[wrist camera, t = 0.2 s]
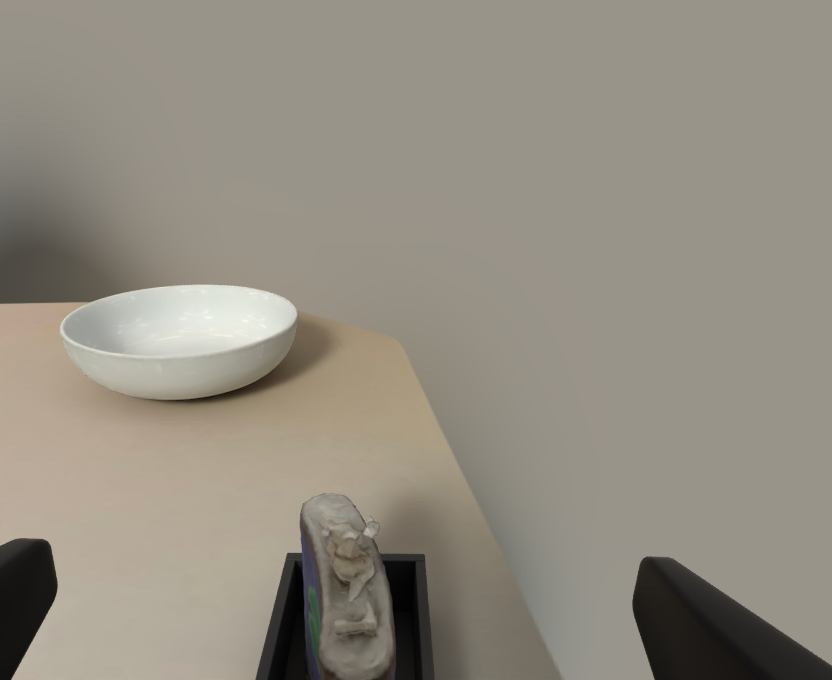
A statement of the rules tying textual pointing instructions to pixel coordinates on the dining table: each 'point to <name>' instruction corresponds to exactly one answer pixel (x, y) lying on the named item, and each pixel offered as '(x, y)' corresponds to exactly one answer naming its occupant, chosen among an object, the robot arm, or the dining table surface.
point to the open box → (408, 587)
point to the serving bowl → (180, 339)
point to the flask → (345, 594)
